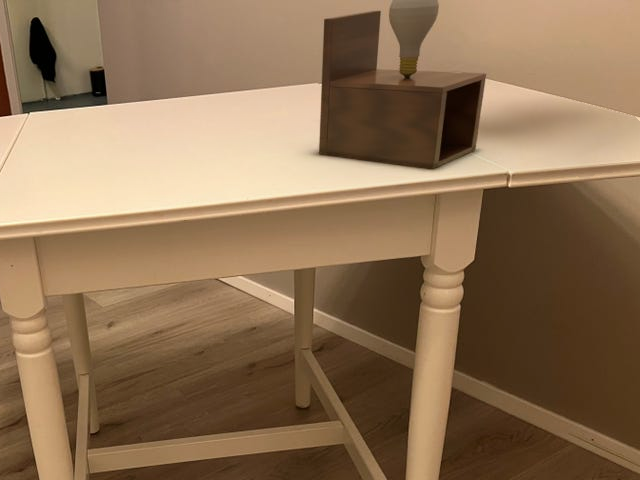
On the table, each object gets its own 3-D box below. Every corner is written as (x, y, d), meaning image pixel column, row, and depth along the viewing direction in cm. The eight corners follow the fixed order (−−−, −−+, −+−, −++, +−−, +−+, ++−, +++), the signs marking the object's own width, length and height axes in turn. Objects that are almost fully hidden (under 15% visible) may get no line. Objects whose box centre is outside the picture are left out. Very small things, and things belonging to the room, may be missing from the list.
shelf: (475, 149, 89) (496, 8, 81) (433, 169, 82) (451, 17, 74) (364, 137, 99) (372, 10, 91) (318, 154, 92) (323, 18, 85)
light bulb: (383, 81, 84) (390, -14, 79) (384, 74, 89) (391, -16, 84) (431, 79, 83) (442, -17, 78) (430, 73, 87) (440, -19, 82)
